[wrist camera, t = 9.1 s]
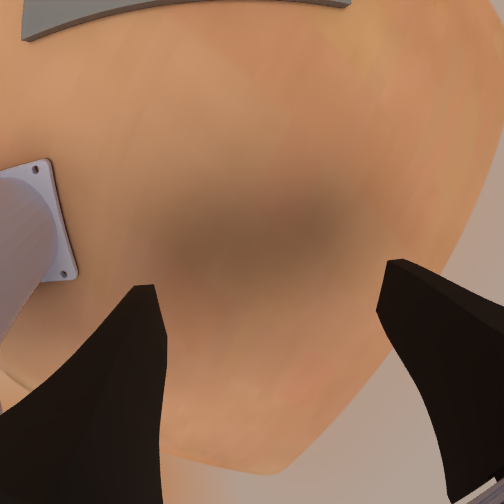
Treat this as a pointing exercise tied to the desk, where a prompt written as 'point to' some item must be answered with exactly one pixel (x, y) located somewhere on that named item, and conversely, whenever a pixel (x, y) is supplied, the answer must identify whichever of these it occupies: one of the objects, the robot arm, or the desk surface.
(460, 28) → the desk surface
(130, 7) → the shaft board
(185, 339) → the desk surface
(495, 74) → the desk surface
